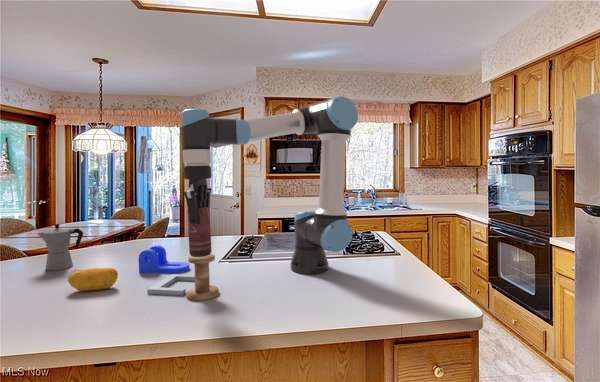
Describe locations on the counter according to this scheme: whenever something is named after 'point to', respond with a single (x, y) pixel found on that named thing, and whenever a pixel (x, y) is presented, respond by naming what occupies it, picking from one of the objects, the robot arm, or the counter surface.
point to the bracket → (159, 262)
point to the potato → (93, 279)
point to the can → (200, 234)
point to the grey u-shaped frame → (161, 286)
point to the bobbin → (202, 279)
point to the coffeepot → (59, 247)
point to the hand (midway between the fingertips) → (201, 246)
